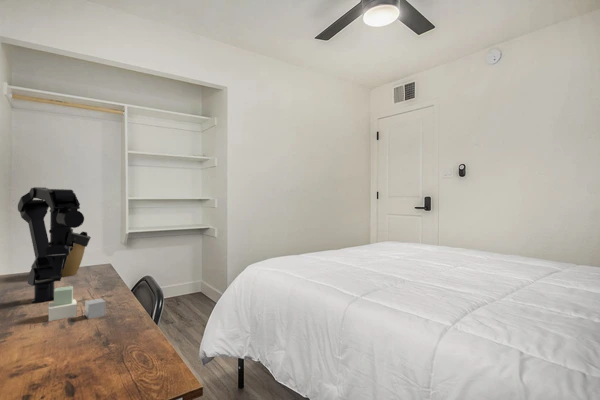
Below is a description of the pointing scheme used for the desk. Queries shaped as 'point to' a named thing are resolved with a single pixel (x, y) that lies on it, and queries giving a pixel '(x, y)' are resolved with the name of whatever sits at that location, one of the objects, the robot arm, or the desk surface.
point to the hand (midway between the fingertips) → (60, 271)
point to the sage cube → (63, 295)
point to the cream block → (62, 310)
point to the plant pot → (73, 260)
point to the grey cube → (94, 308)
